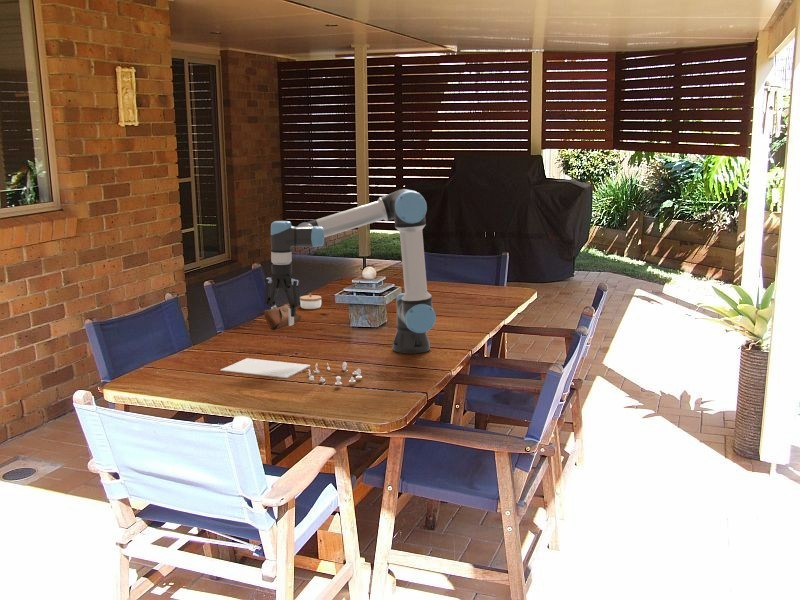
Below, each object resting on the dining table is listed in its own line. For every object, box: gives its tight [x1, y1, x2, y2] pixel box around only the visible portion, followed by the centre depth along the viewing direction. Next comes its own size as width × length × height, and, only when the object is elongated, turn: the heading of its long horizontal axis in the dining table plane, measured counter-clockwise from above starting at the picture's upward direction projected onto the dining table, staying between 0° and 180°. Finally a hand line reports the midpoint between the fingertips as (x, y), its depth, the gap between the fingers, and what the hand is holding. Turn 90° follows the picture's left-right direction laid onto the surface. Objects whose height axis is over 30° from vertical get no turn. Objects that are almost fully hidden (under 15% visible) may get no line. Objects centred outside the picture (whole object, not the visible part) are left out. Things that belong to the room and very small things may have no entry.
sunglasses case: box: [263, 303, 303, 331], centre depth 314 cm, size 18×7×7 cm
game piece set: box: [307, 361, 363, 385], centre depth 302 cm, size 19×20×4 cm
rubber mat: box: [220, 357, 312, 379], centre depth 313 cm, size 28×18×1 cm, turn 68°
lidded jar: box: [300, 293, 322, 310], centre depth 414 cm, size 11×11×9 cm
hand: (282, 324), depth 315 cm, fingers closed on sunglasses case, 7 cm apart
